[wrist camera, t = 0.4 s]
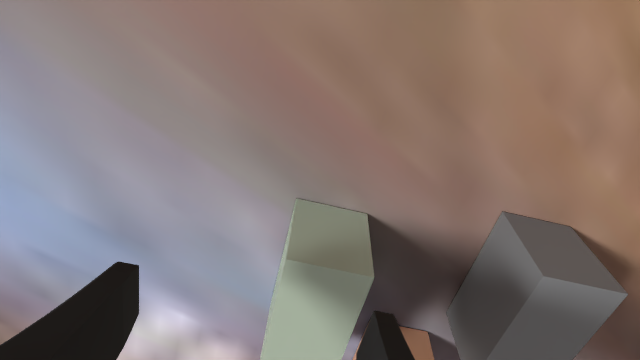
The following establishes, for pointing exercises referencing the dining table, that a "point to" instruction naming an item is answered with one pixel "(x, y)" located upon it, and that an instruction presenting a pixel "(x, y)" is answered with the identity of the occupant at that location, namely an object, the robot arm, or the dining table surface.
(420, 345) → the terracotta block
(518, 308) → the charcoal block
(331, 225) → the sage block
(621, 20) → the dining table surface
